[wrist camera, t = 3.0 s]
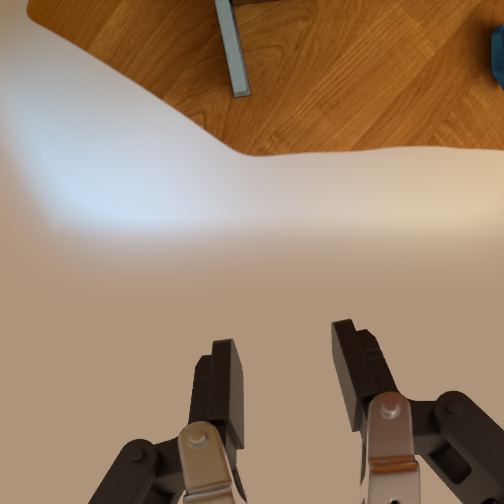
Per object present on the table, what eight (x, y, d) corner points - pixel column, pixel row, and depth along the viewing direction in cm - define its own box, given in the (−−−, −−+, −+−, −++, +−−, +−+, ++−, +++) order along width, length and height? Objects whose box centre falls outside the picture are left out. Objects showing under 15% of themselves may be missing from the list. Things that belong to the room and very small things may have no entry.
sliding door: (234, 93, 27) (228, 94, 17) (211, -16, 21) (195, -66, 11) (246, 90, 27) (247, 90, 17) (223, -18, 21) (212, -70, 11)
